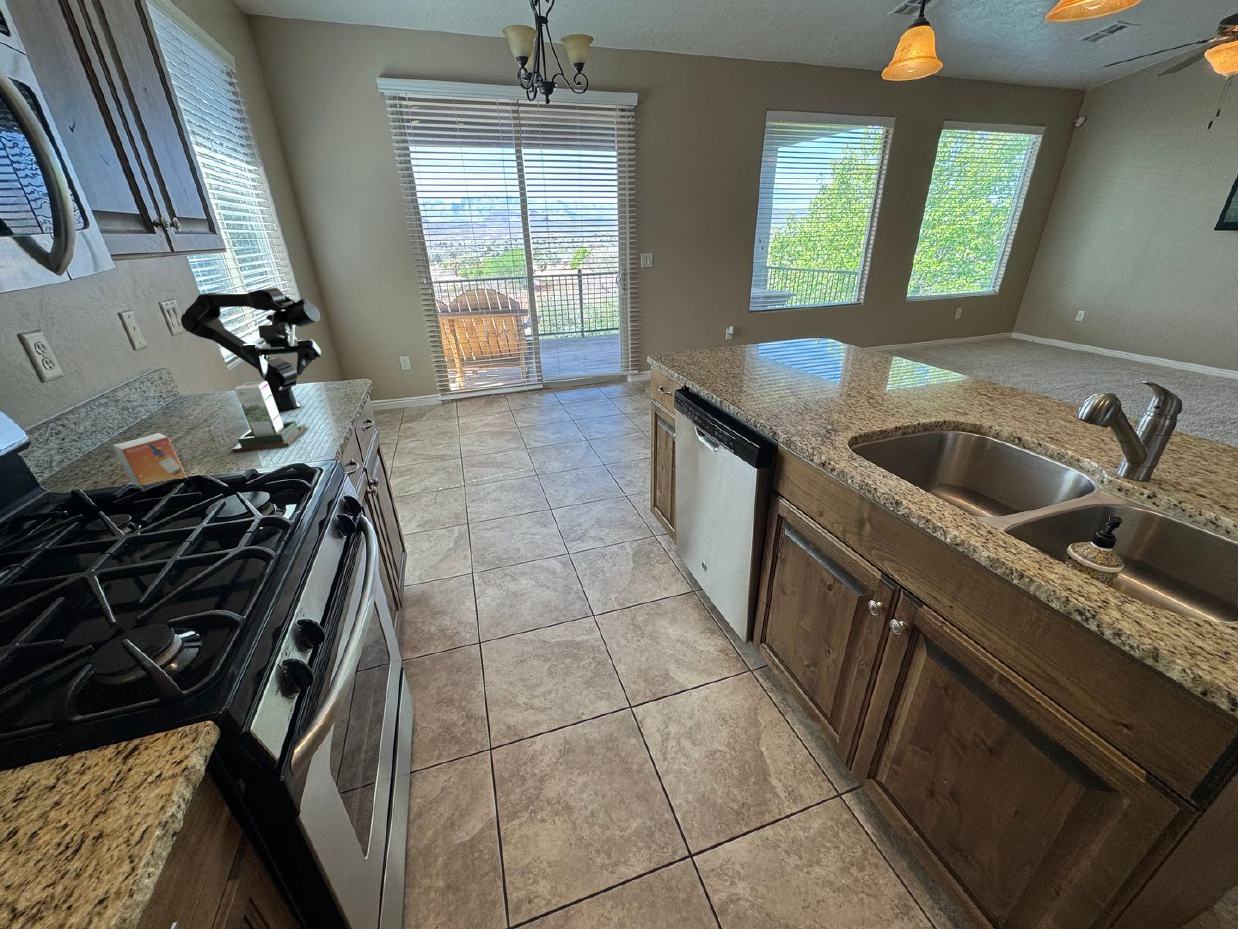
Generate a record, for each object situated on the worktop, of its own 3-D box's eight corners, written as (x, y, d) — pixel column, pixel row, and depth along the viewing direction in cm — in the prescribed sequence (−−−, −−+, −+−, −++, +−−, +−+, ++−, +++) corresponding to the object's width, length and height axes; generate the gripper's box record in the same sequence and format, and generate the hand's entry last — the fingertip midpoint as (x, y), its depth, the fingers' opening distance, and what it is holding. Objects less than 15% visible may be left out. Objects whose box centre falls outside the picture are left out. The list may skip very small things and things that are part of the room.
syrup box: (286, 431, 133) (267, 379, 127) (278, 438, 128) (258, 385, 122) (263, 434, 132) (242, 382, 126) (254, 442, 127) (233, 388, 120)
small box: (144, 494, 104) (120, 449, 99) (134, 488, 107) (111, 444, 102) (188, 479, 110) (168, 436, 105) (178, 474, 113) (158, 432, 108)
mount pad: (256, 434, 135) (252, 424, 133) (306, 428, 137) (303, 419, 136) (233, 452, 123) (228, 441, 122) (288, 446, 125) (284, 435, 124)
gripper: (230, 315, 134) (226, 364, 129) (304, 310, 137) (302, 357, 132) (254, 338, 144) (251, 384, 139) (322, 333, 147) (321, 378, 142)
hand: (280, 376), depth 138 cm, fingers open, 9 cm apart
